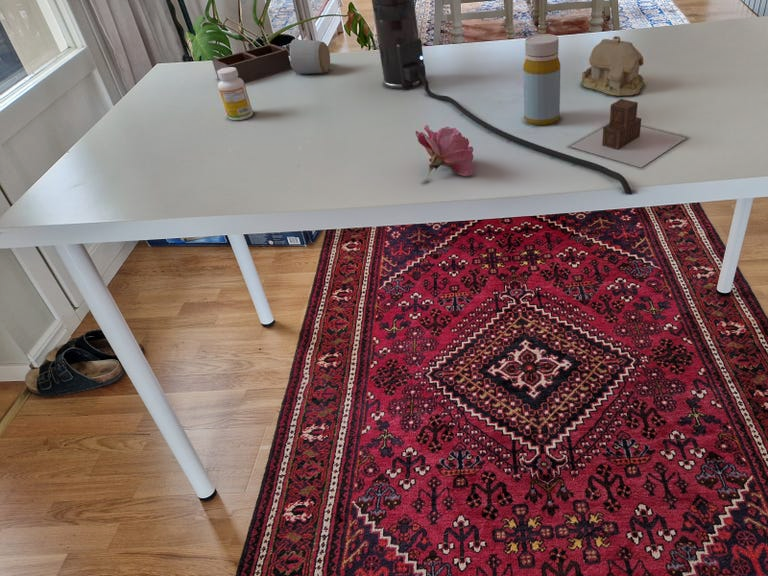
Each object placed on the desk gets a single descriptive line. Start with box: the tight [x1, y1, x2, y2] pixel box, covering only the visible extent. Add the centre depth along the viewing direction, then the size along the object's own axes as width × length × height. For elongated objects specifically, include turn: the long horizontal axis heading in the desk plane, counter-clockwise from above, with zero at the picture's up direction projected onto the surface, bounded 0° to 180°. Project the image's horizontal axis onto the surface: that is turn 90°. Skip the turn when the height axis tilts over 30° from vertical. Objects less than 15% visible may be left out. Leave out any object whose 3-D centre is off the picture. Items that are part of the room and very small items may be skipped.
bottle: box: [522, 33, 561, 126], centre depth 123 cm, size 7×7×15 cm
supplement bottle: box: [217, 67, 254, 121], centre depth 137 cm, size 5×5×10 cm
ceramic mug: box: [289, 38, 331, 75], centre depth 159 cm, size 11×8×8 cm
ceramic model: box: [581, 35, 645, 97], centre depth 136 cm, size 14×11×10 cm
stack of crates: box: [570, 98, 686, 168], centre depth 115 cm, size 15×15×7 cm
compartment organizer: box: [211, 43, 293, 84], centre depth 161 cm, size 9×16×5 cm, turn 132°
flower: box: [415, 124, 474, 183], centre depth 111 cm, size 11×10×10 cm
